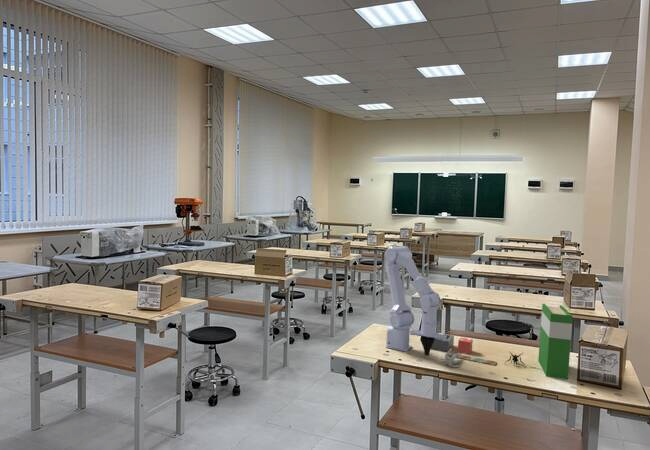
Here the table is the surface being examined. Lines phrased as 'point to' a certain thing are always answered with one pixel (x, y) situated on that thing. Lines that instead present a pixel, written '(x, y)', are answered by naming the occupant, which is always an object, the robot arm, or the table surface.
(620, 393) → the table surface
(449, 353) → the track
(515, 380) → the table surface
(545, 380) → the table surface
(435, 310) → the robot arm
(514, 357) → the creature
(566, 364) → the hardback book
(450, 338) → the dome base
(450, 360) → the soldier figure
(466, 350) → the die
